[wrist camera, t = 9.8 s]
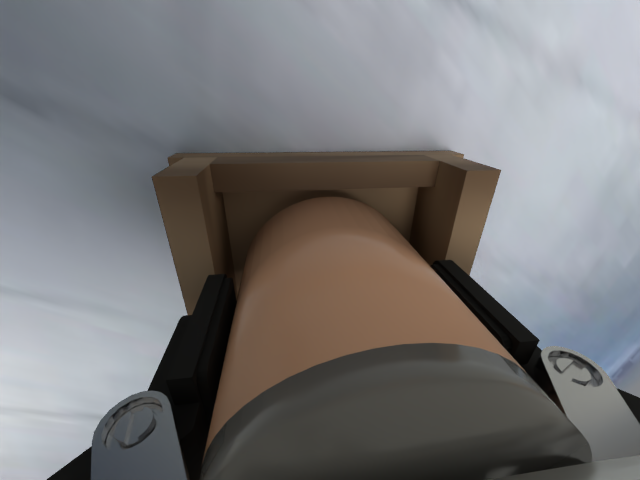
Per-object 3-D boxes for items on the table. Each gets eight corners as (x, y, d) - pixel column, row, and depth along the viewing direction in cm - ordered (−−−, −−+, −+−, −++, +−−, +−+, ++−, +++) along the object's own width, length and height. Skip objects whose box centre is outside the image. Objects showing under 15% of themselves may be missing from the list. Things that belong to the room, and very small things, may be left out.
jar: (233, 199, 10) (118, 454, 3) (415, 193, 11) (682, 379, 4) (252, 338, 13) (221, 628, 6) (392, 325, 14) (512, 566, 7)
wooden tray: (176, 153, 11) (49, 217, 5) (450, 150, 13) (614, 197, 7) (242, 465, 22) (228, 608, 16) (387, 444, 23) (427, 568, 17)
